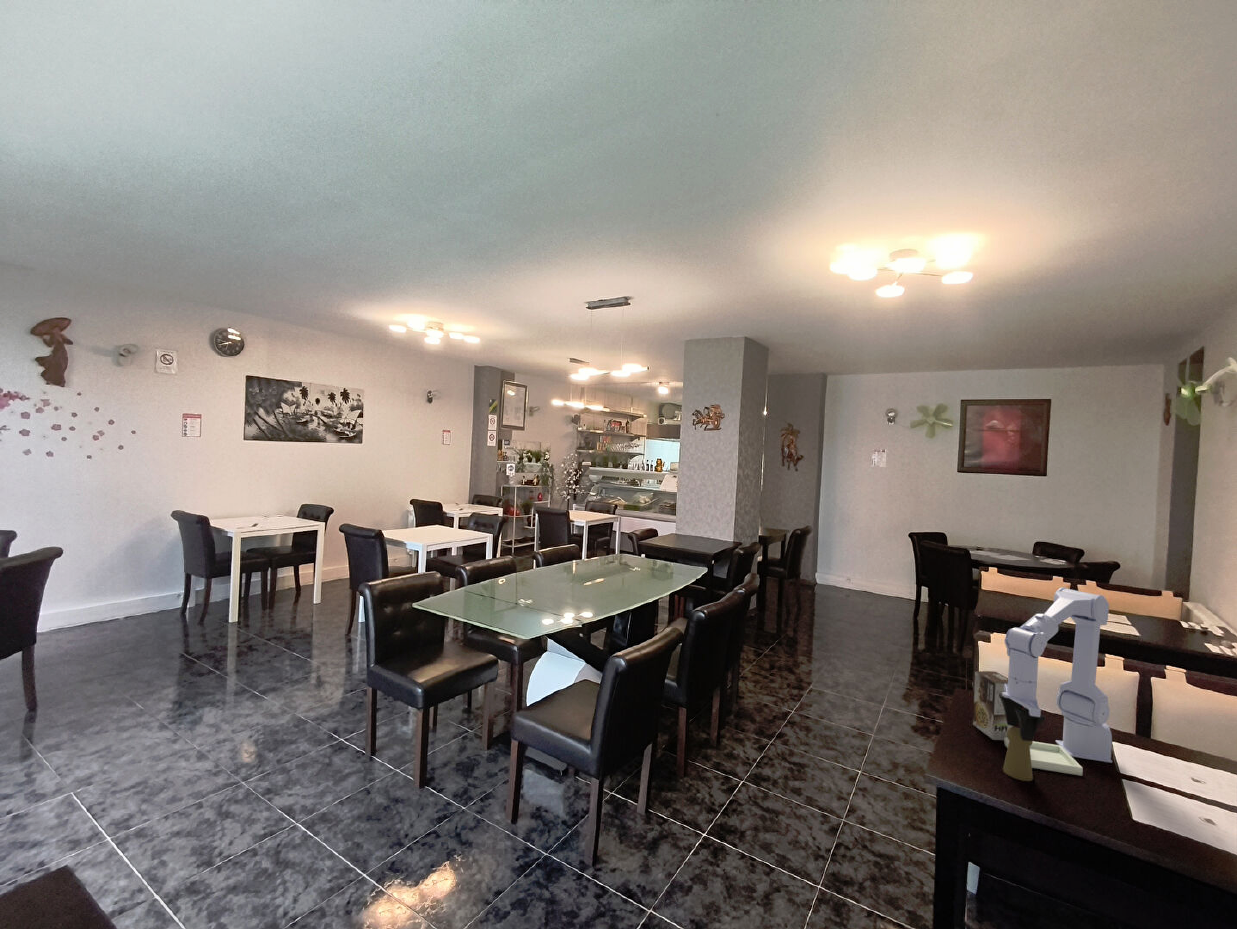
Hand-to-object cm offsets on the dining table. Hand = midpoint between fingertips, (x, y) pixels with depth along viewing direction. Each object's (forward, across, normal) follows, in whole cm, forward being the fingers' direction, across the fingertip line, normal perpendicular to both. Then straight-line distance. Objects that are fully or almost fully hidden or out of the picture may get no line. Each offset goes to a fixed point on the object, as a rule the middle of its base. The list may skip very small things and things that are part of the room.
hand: (1019, 732), depth 136 cm
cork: (+11, 0, 0) cm, 11 cm away
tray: (+10, -10, +10) cm, 17 cm away
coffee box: (+10, -22, +3) cm, 25 cm away
